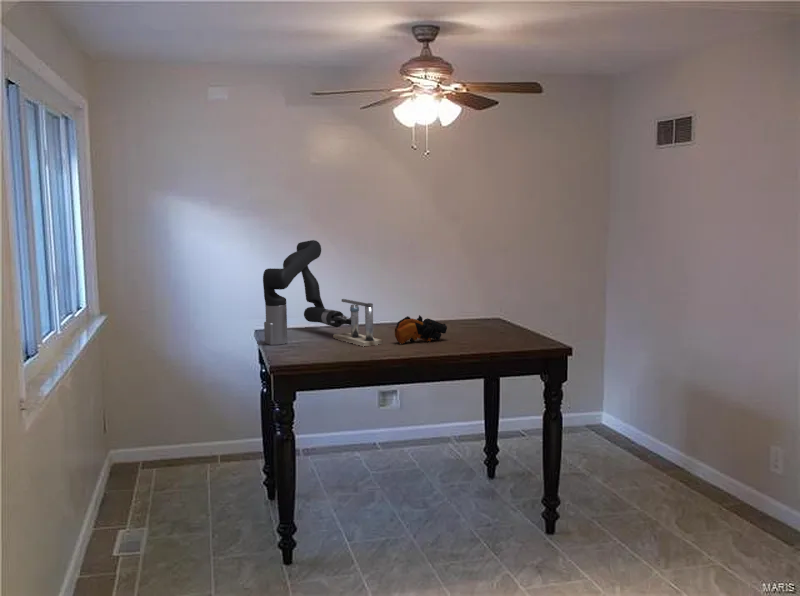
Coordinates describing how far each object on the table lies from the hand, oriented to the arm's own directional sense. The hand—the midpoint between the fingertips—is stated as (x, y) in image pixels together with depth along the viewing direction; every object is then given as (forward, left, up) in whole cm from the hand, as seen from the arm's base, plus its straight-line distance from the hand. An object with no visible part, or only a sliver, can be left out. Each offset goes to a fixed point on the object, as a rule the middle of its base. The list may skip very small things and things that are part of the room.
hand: (352, 322), depth 344 cm
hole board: (0, -4, -8) cm, 9 cm away
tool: (+22, -22, -8) cm, 32 cm away
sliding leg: (0, -2, -6) cm, 6 cm away
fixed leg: (0, -3, -6) cm, 7 cm away
